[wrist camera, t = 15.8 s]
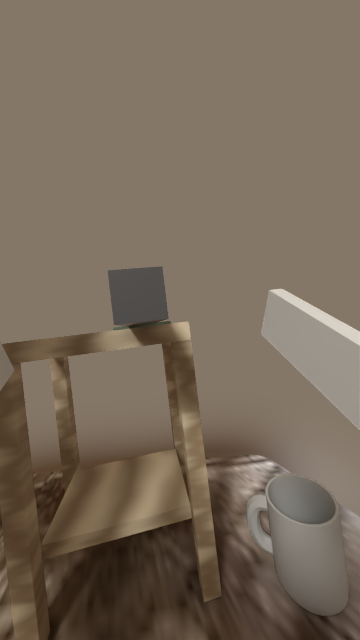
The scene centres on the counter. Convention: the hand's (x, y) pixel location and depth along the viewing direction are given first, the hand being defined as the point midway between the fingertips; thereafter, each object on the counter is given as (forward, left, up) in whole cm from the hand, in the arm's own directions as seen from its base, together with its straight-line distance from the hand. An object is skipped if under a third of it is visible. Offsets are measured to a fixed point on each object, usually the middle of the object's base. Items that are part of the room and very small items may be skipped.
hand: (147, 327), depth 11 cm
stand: (-5, +20, -30) cm, 37 cm away
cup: (+14, +12, -30) cm, 35 cm away
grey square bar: (0, +14, 0) cm, 14 cm away
